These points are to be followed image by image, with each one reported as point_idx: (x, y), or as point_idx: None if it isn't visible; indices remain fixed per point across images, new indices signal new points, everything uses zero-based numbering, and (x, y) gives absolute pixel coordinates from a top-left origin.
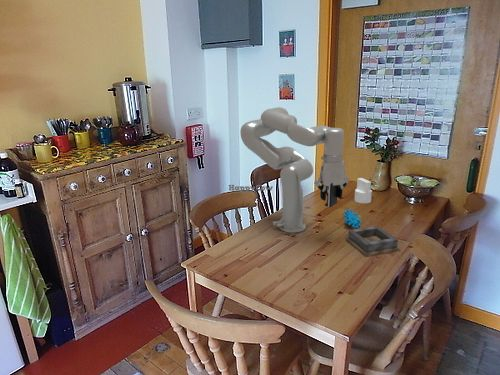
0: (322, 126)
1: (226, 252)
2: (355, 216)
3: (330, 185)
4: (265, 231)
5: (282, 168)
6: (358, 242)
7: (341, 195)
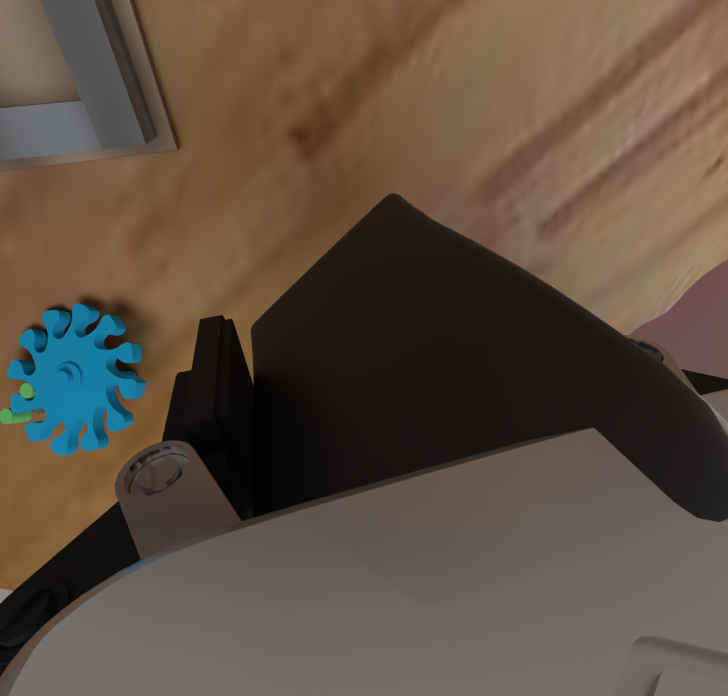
0: None
1: None
2: (44, 401)
3: (695, 402)
4: None
5: None
6: None
7: (199, 345)
